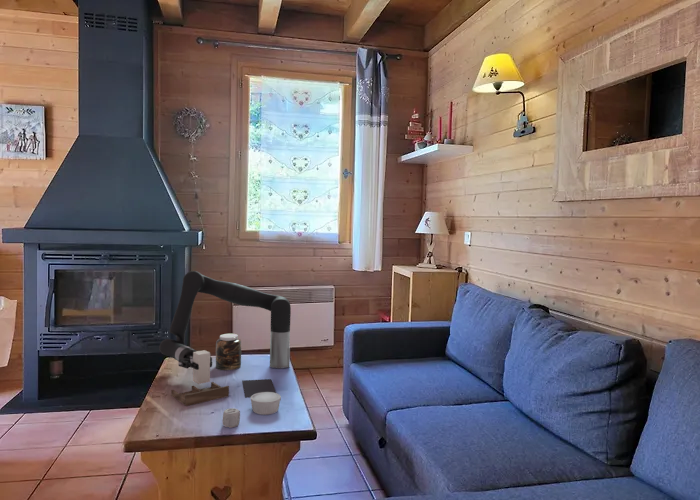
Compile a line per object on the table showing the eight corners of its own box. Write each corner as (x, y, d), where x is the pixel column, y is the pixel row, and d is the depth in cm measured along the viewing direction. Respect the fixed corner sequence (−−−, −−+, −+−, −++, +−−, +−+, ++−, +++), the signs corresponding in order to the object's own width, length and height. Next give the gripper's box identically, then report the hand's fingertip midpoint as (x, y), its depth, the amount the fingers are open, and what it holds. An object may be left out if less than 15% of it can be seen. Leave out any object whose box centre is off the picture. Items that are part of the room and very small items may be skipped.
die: (222, 427, 175) (222, 413, 175) (225, 421, 180) (225, 407, 180) (236, 428, 175) (237, 413, 175) (239, 422, 180) (240, 408, 180)
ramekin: (251, 404, 197) (252, 391, 196) (281, 404, 198) (281, 391, 197) (248, 416, 185) (248, 402, 185) (279, 416, 186) (280, 402, 186)
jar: (215, 363, 248) (216, 332, 247) (240, 362, 250) (241, 332, 249) (215, 371, 236) (215, 338, 235) (241, 369, 239) (241, 338, 238)
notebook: (241, 384, 221) (244, 401, 201) (241, 380, 221) (244, 397, 201) (271, 382, 225) (277, 399, 204) (271, 378, 225) (277, 395, 204)
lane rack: (171, 397, 201) (171, 385, 201) (212, 388, 212) (212, 377, 212) (186, 408, 191) (186, 395, 190) (228, 398, 202) (228, 386, 202)
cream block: (192, 380, 210) (193, 351, 209) (204, 378, 213) (204, 350, 213) (198, 384, 206) (198, 354, 206) (209, 381, 210) (210, 352, 209)
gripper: (170, 350, 215) (187, 359, 202) (202, 345, 225) (221, 354, 212) (170, 367, 216) (187, 378, 203) (202, 362, 225) (220, 372, 212)
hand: (204, 366), depth 208 cm, fingers closed on cream block, 5 cm apart
